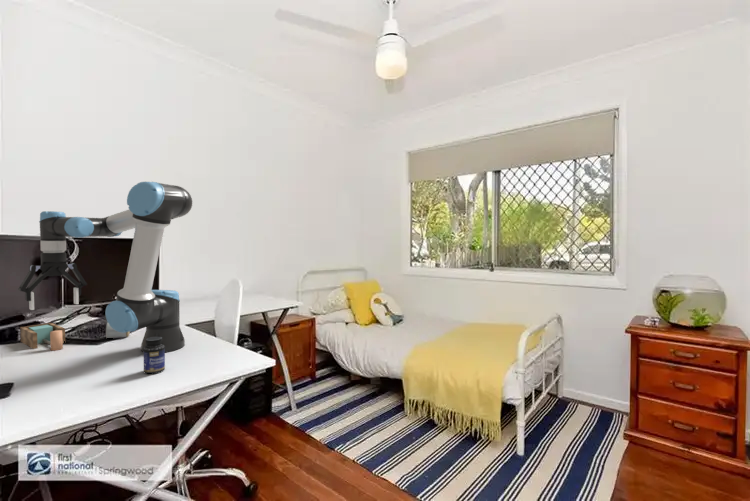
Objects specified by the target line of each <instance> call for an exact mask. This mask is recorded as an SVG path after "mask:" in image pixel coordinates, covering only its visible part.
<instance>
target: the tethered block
mask: <svg viewBox="0 0 750 501" xmlns="http://www.w3.org/2000/svg"><path fill="white" fill-rule="evenodd" d="M29 329H30V330H32V331H34V332H36V333H37V345H38V344H39V345H40V344H47V345H50V351H52V352H53V351H60V350H63V349H64V348H63V347H64V346H63V345H64V343H63V338H62V330H56V331H53V327H52V326H50V325H42V326H36V327H29Z"/></svg>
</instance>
